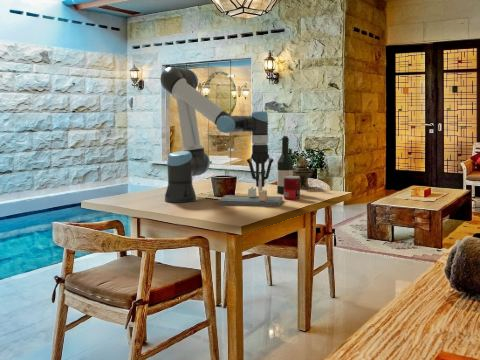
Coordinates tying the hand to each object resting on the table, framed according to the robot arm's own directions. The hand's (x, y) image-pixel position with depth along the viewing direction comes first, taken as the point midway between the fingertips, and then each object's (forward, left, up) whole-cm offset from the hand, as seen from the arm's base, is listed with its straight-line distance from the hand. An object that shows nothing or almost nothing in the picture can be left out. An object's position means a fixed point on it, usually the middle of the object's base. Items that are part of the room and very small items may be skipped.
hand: (260, 193), depth 248 cm
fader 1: (-4, 0, -1) cm, 4 cm away
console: (-4, -4, -4) cm, 7 cm away
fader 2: (+2, -9, -1) cm, 9 cm away
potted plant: (+16, +48, -4) cm, 51 cm away
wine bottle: (+9, +27, -4) cm, 29 cm away
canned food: (+14, +10, -4) cm, 18 cm away
